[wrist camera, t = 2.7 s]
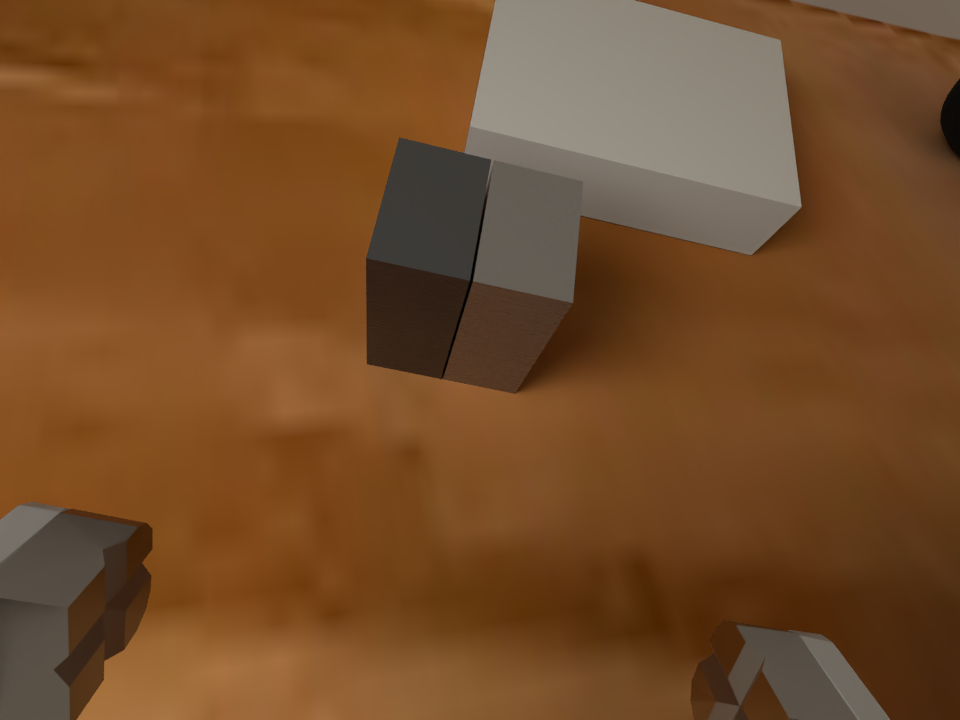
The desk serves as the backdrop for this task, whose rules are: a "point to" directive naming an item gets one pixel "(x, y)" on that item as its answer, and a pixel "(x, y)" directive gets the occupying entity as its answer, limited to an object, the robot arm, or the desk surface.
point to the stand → (642, 116)
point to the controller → (952, 118)
